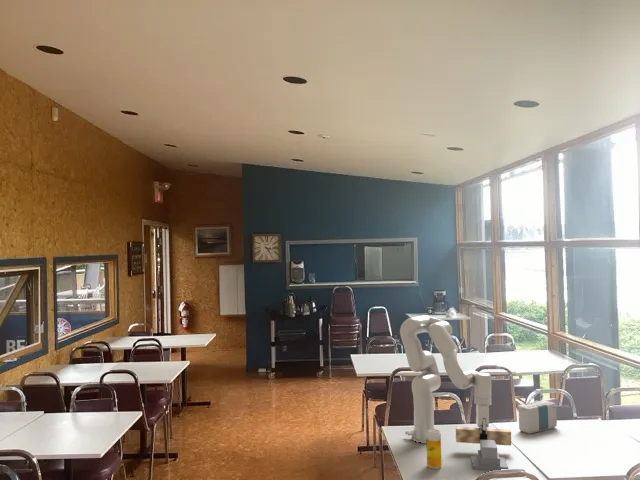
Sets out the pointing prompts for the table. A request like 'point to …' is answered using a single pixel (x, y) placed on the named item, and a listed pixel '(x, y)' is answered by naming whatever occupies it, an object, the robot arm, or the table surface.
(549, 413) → the stereo radio cassette player
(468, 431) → the tan long bar
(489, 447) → the fulcrum stand
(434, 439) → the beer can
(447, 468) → the table surface
